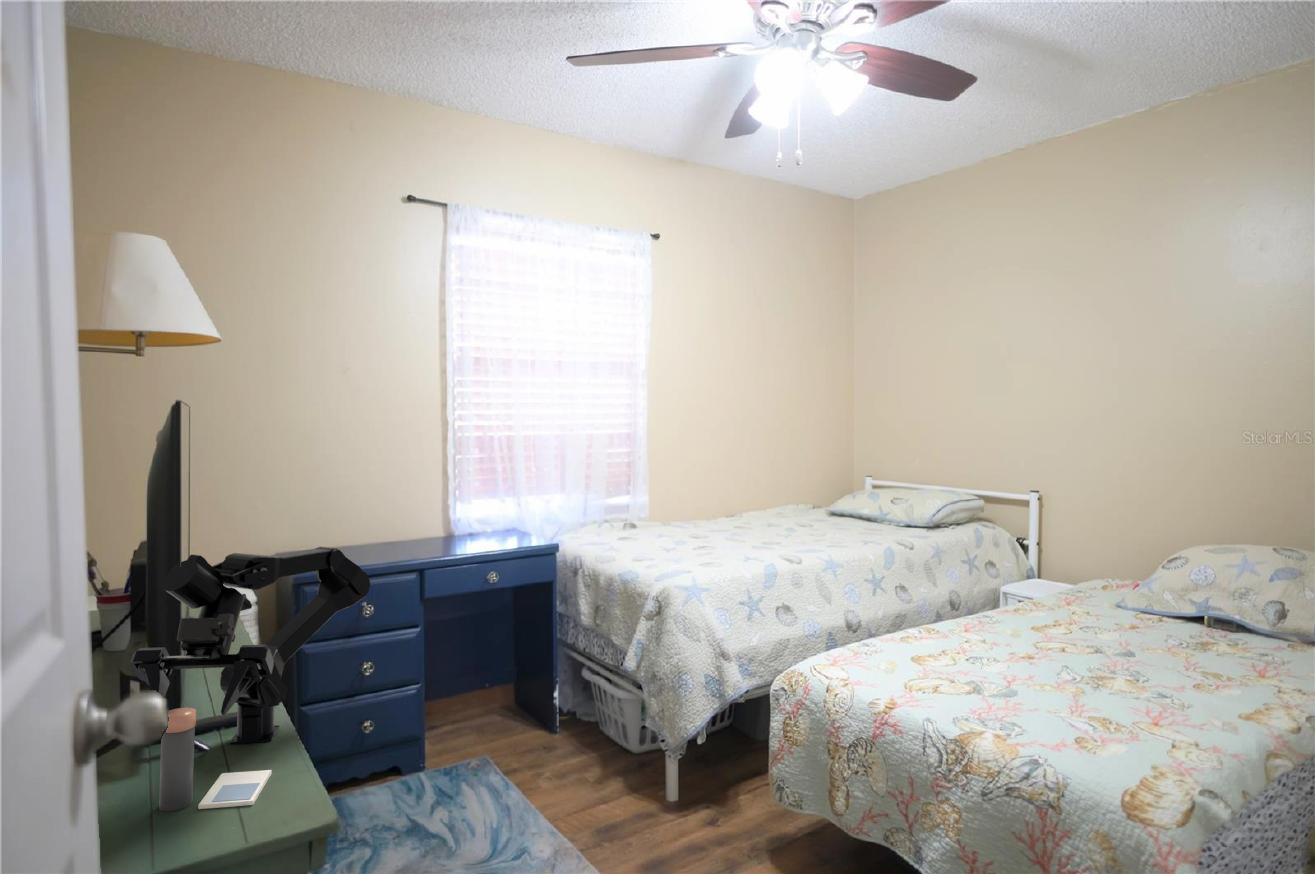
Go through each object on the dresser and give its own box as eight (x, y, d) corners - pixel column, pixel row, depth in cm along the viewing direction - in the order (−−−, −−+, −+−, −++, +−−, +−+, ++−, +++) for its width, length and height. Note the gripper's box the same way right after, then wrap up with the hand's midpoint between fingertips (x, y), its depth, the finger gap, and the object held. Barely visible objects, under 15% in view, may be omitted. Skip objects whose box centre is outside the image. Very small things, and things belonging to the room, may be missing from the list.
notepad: (221, 777, 115) (221, 772, 115) (271, 773, 117) (271, 769, 117) (198, 809, 105) (198, 804, 105) (252, 805, 107) (253, 800, 107)
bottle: (165, 798, 108) (168, 708, 108) (197, 796, 109) (200, 707, 109) (153, 813, 104) (156, 719, 104) (186, 810, 105) (189, 717, 105)
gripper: (137, 595, 114) (98, 693, 103) (270, 593, 118) (246, 687, 107) (158, 633, 122) (123, 728, 111) (282, 630, 126) (261, 721, 115)
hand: (188, 715), depth 111 cm, fingers open, 9 cm apart
